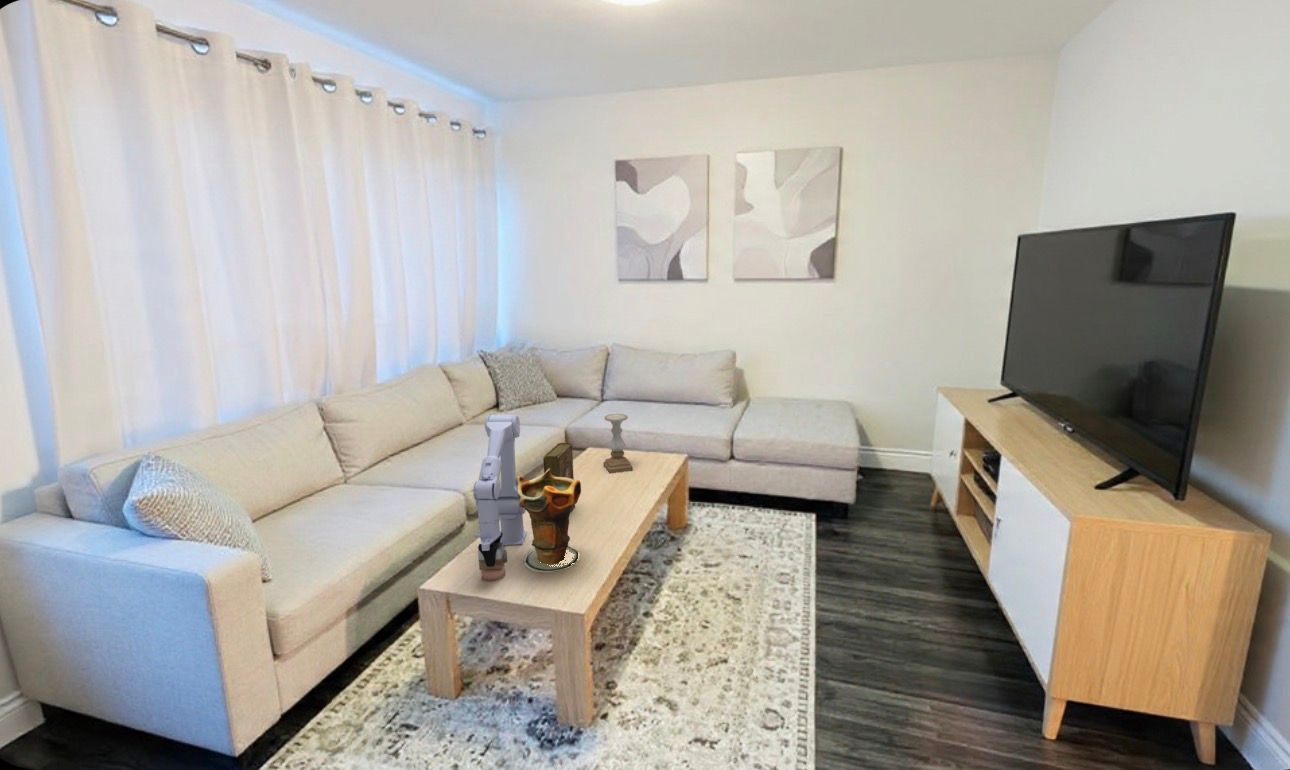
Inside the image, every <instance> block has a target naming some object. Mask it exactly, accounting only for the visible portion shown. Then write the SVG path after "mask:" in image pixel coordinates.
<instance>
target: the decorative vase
mask: <svg viewBox="0 0 1290 770" xmlns="http://www.w3.org/2000/svg"><path fill="white" fill-rule="evenodd" d="M515 483H516V487H517V494H518V502H519V506H520V507H523V508H525V510H526V511H525V512H527V513H528V514H529V518H530V525H531V526H530V527H531V530H532V537H533V539H532V543H531V546H532V547H534V549H531V548H529V550H528V552H527V553H525V557H524V559H523V563H524V566H526V568H528V569H529V570H531V571H532V572H538V573H540V572H541V573H547V574H548V573H552V572H559V571H560V572H561V571H563V570H562V569H565V570H566V569H569V568H568V567H570V566H571V567H574V566H573V565H575V564H572V563H575V562H576V561H577V559H578V551H579V554H580V553H581V551H580V550H578V549H575V548H572V547H570V545H569V542H570V539H571V538H570V536H569V535H568V534H569V525H570V516H571V514H572V512H571V507H572V506H573V505H575V506H576V504H577V503H578V501H579V499H580V496H581V493H582V484H581V481H580V480H578V479H574V480H573V479H570V478H566V477H555V476H553V475H552V473H551V468H550V469H548V470H547V471H546V472H545V473H544V472H543V474H541V475H538V476H537V477H535V478H533V479H530V480H526V478H525V477H524V476H523V475H518V476H517V475H516V481H515ZM566 550H569V552H571V553H573V554H575V555H574V558H573V557H572V559H573V560H572V561H571V562H570V563H569V564H568V563H567V565H564V563H563V564H562V565H563V566H562V567H561V566H560V565H561V563H560V564H559V562H560V561H562V560H564V558H565V557H564V556H565V553H566ZM566 554H567V553H566ZM565 561H566V560H565ZM540 562H541V563H540ZM576 563H577V562H576ZM547 564H548V565H547ZM554 564H555V565H556V564H557V565H558V564H559V566H560V567H559V566H558V567H557V566H555V565H554ZM565 564H566V563H565ZM571 564H572V565H571ZM549 565H550V566H551V565H554V566H555V567H554V566H553V567H552V566H551V567H550V566H549ZM575 566H576V565H575ZM571 567H570V568H571Z"/></svg>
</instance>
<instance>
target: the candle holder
mask: <svg viewBox="0 0 1290 770" xmlns="http://www.w3.org/2000/svg"><path fill="white" fill-rule="evenodd" d="M627 419H628V415H627V414H624V413H611V414H607V415H604V420H605V421H607V422H610V424H611V426H612V428H611V429H610V432H611V434H612V439H611V440H610V441H609V443H608V449H609V450H611V451H610V456H611V457H610V458H606V459H605V461H603V468H604V467H605V468H606V469H605V468H604V469H605V470H606V472H607V471H608V472H609V473H608V472H607V473H608V474H616V472H617V473H623V472H624V471H625V472H630V471H631V472H632V471H633V465H632V464H631V461H629V460H628V458H627V457H626V456H624V455H625V451H624V450H625V448H626V443H625V441H624V440H623V438H622V436H621V435H622V433H623V429H622V427H621V424H622V423H623V422H624V421H626V420H627Z"/></svg>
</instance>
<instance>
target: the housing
mask: <svg viewBox="0 0 1290 770" xmlns="http://www.w3.org/2000/svg"><path fill="white" fill-rule="evenodd" d="M480 544H482V542H480ZM493 544H499V545H498V548H497V550H496V557H495V565H494V567H487V565H486V563H485V560H484V557H483V555H482V553H481V552H480V551H479V549H477V554H478V565H479V567H478V568H479V570H481V569H500V568H502V567H503V564H504V565H505V563H504V561H505V559H504V546H505V545H503V543H493Z"/></svg>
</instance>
